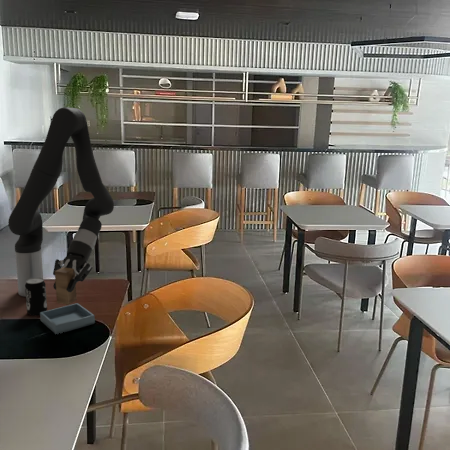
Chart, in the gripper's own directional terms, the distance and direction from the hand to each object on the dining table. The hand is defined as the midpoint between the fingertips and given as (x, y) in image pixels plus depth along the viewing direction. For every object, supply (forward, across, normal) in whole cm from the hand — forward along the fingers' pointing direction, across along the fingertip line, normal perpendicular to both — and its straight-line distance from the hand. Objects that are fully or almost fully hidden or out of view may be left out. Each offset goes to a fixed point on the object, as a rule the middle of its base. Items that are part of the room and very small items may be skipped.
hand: (62, 290), depth 152 cm
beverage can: (+5, -15, +12) cm, 20 cm away
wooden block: (+2, 0, +5) cm, 5 cm away
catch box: (+7, 0, +10) cm, 12 cm away
